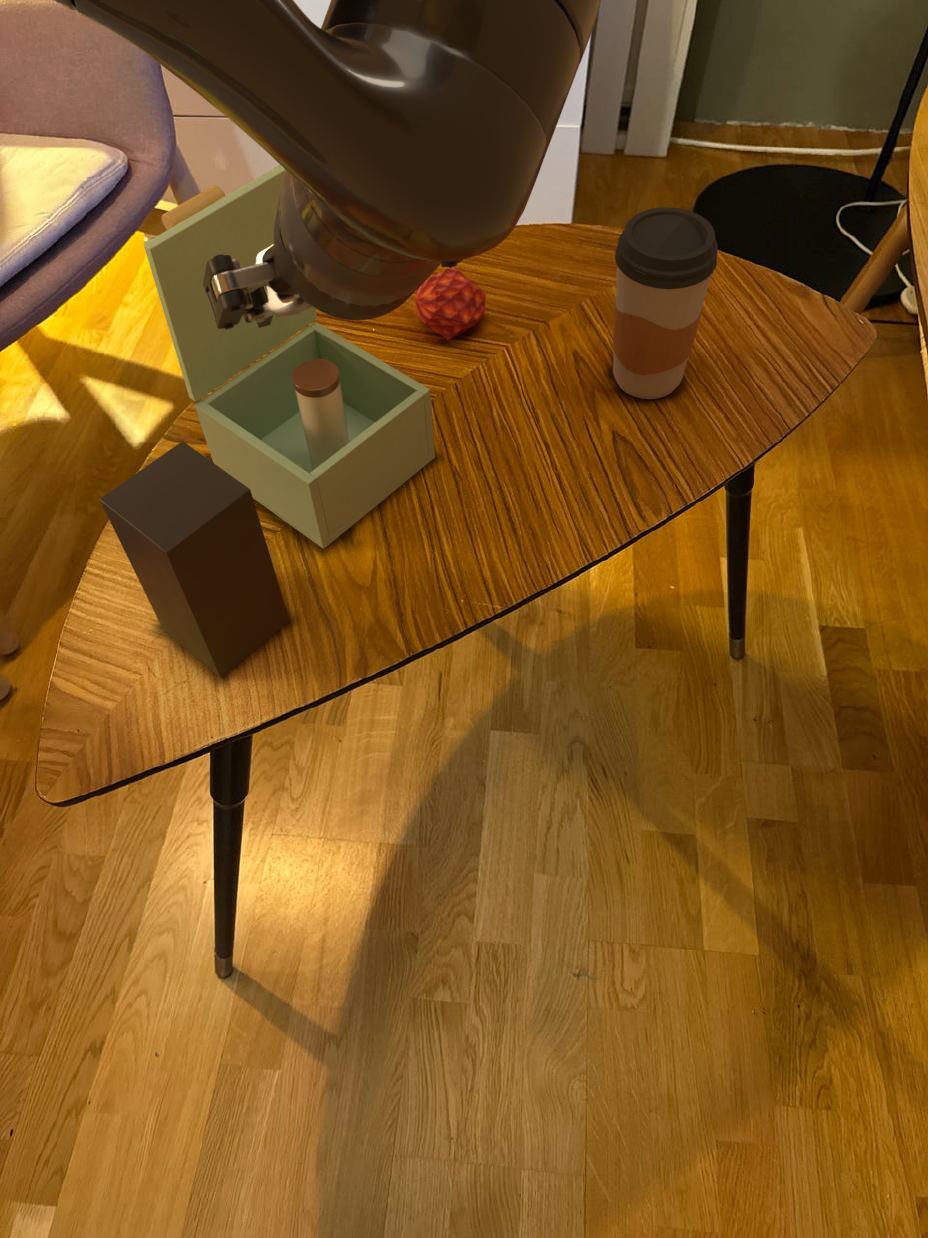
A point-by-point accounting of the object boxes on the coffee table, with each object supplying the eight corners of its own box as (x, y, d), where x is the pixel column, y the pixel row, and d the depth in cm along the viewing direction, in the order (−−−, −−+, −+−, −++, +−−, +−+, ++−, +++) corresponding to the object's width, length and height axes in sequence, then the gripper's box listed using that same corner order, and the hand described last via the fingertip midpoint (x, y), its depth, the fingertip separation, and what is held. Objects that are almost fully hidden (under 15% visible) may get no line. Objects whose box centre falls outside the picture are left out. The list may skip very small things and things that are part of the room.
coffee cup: (707, 366, 92) (738, 221, 80) (668, 420, 88) (695, 276, 76) (626, 337, 95) (645, 192, 83) (585, 388, 91) (599, 244, 79)
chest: (435, 457, 87) (430, 389, 80) (323, 549, 81) (308, 483, 75) (327, 389, 92) (315, 321, 86) (216, 471, 86) (193, 404, 80)
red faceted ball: (484, 354, 98) (414, 351, 93) (459, 307, 100) (390, 302, 96) (512, 303, 93) (440, 298, 89) (485, 256, 96) (414, 248, 92)
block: (221, 679, 74) (166, 552, 62) (162, 629, 77) (98, 498, 64) (290, 621, 77) (250, 489, 65) (231, 575, 80) (182, 440, 67)
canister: (332, 486, 84) (314, 396, 76) (302, 466, 85) (281, 376, 77) (363, 462, 85) (348, 371, 77) (333, 442, 87) (316, 352, 79)
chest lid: (296, 162, 73) (250, 136, 75) (150, 248, 67) (104, 218, 69) (317, 318, 85) (278, 293, 87) (195, 402, 79) (155, 373, 81)
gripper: (489, 93, 44) (418, 197, 60) (178, 168, 42) (189, 257, 57) (535, 261, 46) (454, 320, 61) (237, 344, 43) (232, 384, 59)
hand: (326, 290), depth 59 cm, fingers open, 8 cm apart
